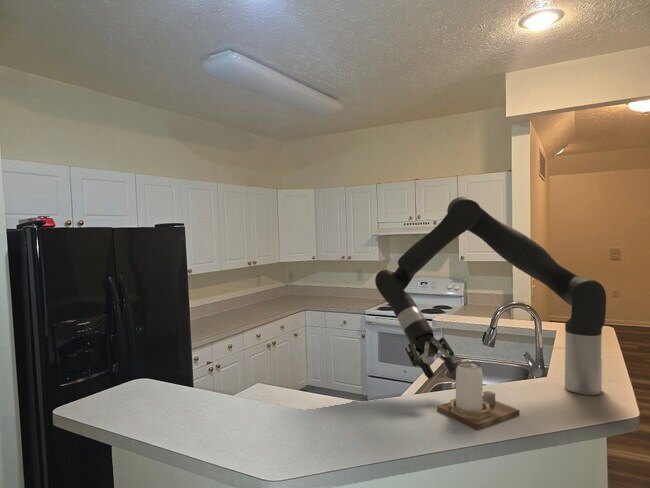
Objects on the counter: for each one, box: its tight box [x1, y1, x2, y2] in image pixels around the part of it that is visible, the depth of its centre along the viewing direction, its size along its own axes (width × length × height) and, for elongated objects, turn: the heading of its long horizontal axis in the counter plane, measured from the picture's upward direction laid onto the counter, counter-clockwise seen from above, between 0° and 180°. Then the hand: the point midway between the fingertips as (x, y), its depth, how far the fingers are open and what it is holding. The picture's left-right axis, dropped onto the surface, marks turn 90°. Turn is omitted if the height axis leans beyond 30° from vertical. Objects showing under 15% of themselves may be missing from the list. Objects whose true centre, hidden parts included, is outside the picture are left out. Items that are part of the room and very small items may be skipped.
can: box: [455, 360, 483, 412], centre depth 110 cm, size 6×6×12 cm
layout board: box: [436, 390, 520, 431], centre depth 111 cm, size 16×13×4 cm
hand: (443, 374), depth 117 cm, fingers open, 8 cm apart
